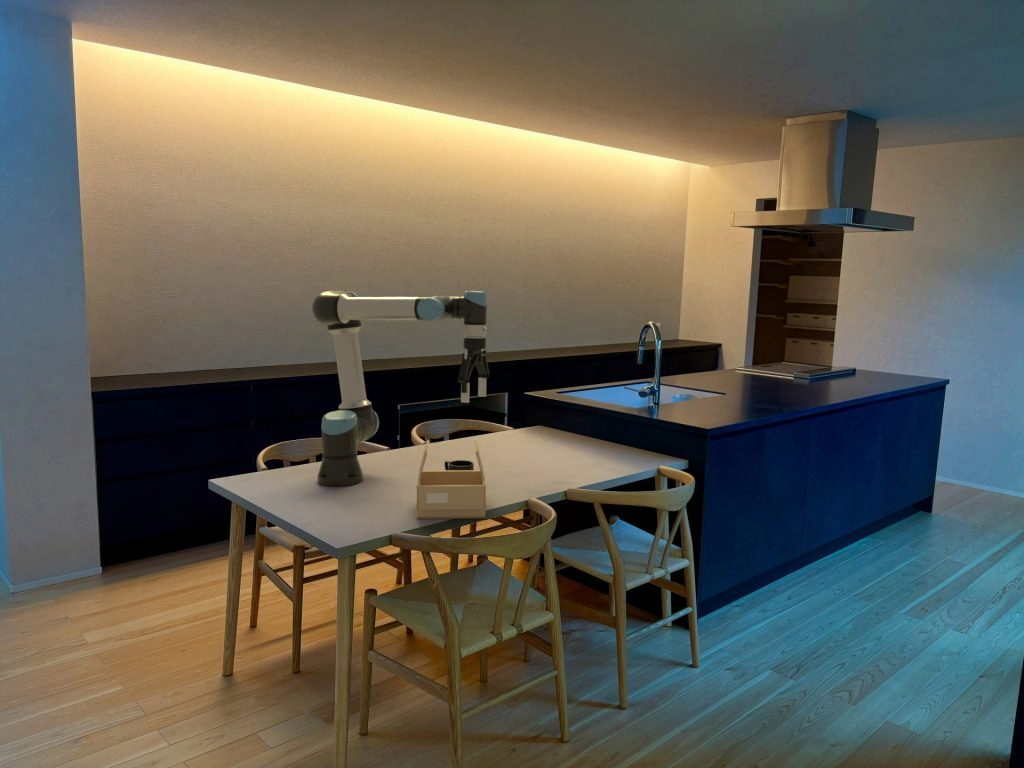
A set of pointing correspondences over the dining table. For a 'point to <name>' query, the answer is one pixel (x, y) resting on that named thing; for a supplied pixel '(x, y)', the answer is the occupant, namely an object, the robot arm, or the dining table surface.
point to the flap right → (479, 460)
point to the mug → (459, 465)
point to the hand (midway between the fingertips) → (473, 399)
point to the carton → (451, 494)
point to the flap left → (423, 460)
